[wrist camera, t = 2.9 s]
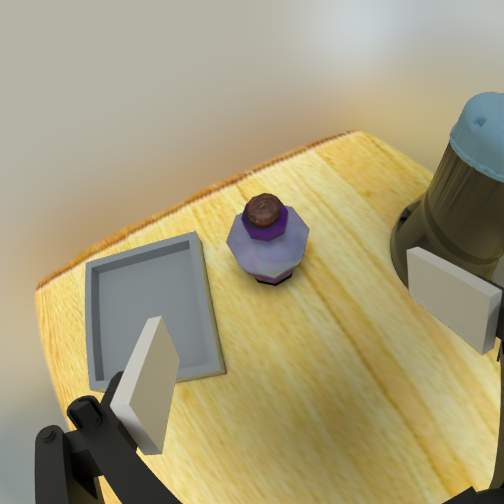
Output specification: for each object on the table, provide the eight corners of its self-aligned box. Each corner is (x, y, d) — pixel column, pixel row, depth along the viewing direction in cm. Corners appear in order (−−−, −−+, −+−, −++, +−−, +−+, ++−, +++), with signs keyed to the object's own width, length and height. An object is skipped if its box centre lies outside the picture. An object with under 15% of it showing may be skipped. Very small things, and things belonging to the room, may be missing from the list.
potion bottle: (265, 222, 41) (255, 157, 31) (321, 256, 38) (330, 196, 27) (222, 272, 39) (196, 217, 28) (279, 312, 35) (273, 268, 25)
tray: (201, 243, 41) (195, 231, 38) (226, 373, 33) (220, 370, 30) (96, 272, 41) (85, 262, 38) (103, 392, 33) (90, 390, 30)
